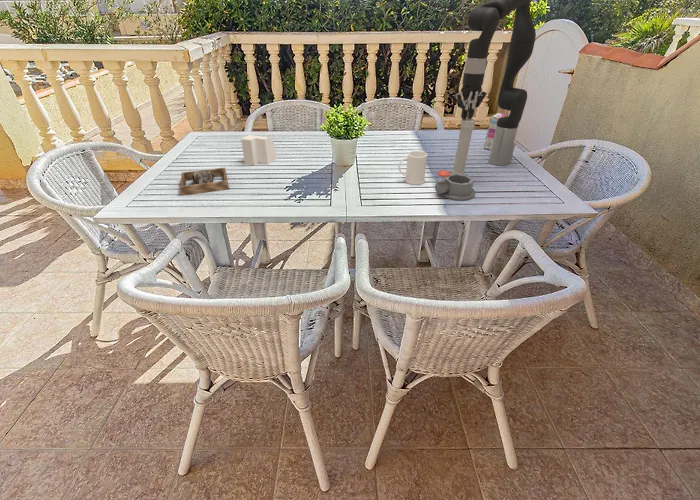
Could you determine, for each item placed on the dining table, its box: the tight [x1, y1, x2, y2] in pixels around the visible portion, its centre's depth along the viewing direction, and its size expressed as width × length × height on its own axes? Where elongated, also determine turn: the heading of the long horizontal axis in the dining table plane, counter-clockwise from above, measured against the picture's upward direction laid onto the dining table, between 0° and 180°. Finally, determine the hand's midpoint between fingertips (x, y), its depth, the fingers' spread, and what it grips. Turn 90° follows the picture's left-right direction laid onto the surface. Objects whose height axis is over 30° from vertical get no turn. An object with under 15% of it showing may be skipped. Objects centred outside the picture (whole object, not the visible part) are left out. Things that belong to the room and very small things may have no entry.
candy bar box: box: [483, 112, 507, 151], centre depth 191 cm, size 11×5×16 cm, turn 144°
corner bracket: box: [240, 134, 278, 166], centre depth 175 cm, size 11×11×12 cm
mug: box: [398, 150, 428, 186], centre depth 156 cm, size 12×8×12 cm
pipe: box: [451, 112, 476, 175], centre depth 153 cm, size 6×6×30 cm
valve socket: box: [434, 169, 476, 202], centre depth 146 cm, size 17×14×10 cm
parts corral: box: [179, 167, 230, 196], centre depth 155 cm, size 18×16×4 cm
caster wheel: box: [192, 169, 214, 184], centre depth 155 cm, size 7×11×10 cm
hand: (466, 118), depth 147 cm, fingers closed on pipe, 2 cm apart
